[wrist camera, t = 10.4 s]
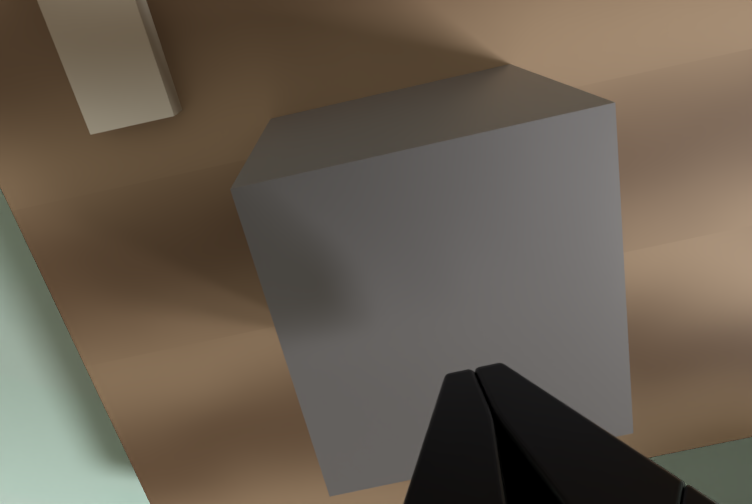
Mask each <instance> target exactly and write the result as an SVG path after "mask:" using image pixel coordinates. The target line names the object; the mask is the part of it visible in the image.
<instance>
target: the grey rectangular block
mask: <svg viewBox="0 0 752 504" xmlns="http://www.w3.org/2000/svg"><path fill="white" fill-rule="evenodd" d="M230 190H231V193H232V196H233V200H234V203H235V206H236V209H237V212H238V215H239V218H240V221H241V224H242V227H243V230H244V234H245V237H246V240H247V243H248V246H249V249H250V252H251V255H252V258H253V261H254V264H255V268H256V271H257V274H258V277H259V280H260V283H261V286H262V289H263V292H264V295H265V298H266V301H267V305H268V308H269V311H270V314H271V317H272V320H273V323H274V326H275V329H276V332H277V335H278V339H279V342H280V345H281V348H282V351H283V354H284V357H285V360H286V363H287V366H288V369H289V373H290V376H291V379H292V382H293V385H294V388H295V391H296V394H297V397H298V400H299V403H300V407H301V410H302V413H303V416H304V419H305V422H306V425H307V428H308V431H309V434H310V437H311V441H312V444H313V447H314V450H315V453H316V456H317V459H318V462H319V465H320V468H321V471H322V475H323V478H324V481H325V484H326V487H327V490H328V493H329V496H330V497H331V496H335V495H340V494H345V493H350V492H355V491H359V490H364V489H369V488H374V487H378V486H383V485H388V484H393V483H398V482H402V481H407V480H411V478H412V475H413V472H414V469H415V466H416V463H417V459H418V456H419V453H420V450H421V447H422V444H423V441H424V438H425V435H426V432H427V429H428V426H429V423H430V419H431V416H432V413H433V410H434V407H435V404H436V401H437V398H438V395H439V392H440V389H441V386H442V383H443V379H444V377H445V375H446V374H448V373H452V372H457V371H462V370H466V369H471V370H473V371H474V372H475V369H476V368H477V367H481V366H486V365H490V364H495V363H503V364H505V365H507V366H508V367H510V368H511V369H513V370H514V371H516V372H517V373H519V374H520V375H522V376H524V377H525V378H527V379H528V380H530V381H531V382H533V383H534V384H536V385H537V386H539V387H540V388H542V389H543V390H545V391H546V392H548V393H549V394H551V395H553V396H554V397H556V398H557V399H559V400H560V401H562V402H563V403H565V404H566V405H568V406H569V407H571V408H572V409H574V410H575V411H577V412H578V413H580V414H582V415H583V416H585V417H586V418H588V419H589V420H591V421H592V422H594V423H595V424H597V425H598V426H600V427H601V428H603V429H604V430H606V431H607V432H609V433H611V434H612V435H614V436H615V437H618V436H622V435H627V434H632V433H633V417H632V398H631V380H630V362H629V344H628V325H627V307H626V289H625V270H624V252H623V234H622V216H621V197H620V179H619V161H618V142H617V124H616V106H615V102H613V101H610V100H607V99H604V98H602V97H599V96H596V95H593V94H591V93H588V92H585V91H583V90H580V89H577V88H574V87H572V86H569V85H566V84H563V83H561V82H558V81H555V80H553V79H550V78H547V77H544V76H542V75H539V74H536V73H533V72H531V71H528V70H525V69H523V68H520V67H517V66H514V65H512V64H508V65H504V66H499V67H495V68H491V69H486V70H482V71H478V72H473V73H469V74H464V75H460V76H456V77H451V78H447V79H442V80H438V81H434V82H429V83H425V84H421V85H416V86H412V87H407V88H403V89H399V90H394V91H390V92H386V93H381V94H377V95H372V96H368V97H364V98H359V99H355V100H350V101H346V102H342V103H337V104H333V105H329V106H324V107H320V108H315V109H311V110H307V111H302V112H298V113H293V114H289V115H285V116H280V117H276V118H272V119H270V121H269V122H268V124H267V126H266V128H265V129H264V131H263V133H262V135H261V136H260V138H259V140H258V142H257V143H256V145H255V147H254V149H253V150H252V152H251V154H250V155H249V157H248V159H247V161H246V162H245V164H244V166H243V168H242V169H241V171H240V173H239V175H238V176H237V178H236V180H235V182H234V183H233V185H232V187H231V189H230Z"/></svg>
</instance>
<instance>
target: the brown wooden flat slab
mask: <svg viewBox="0 0 752 504" xmlns="http://www.w3.org/2000/svg"><path fill="white" fill-rule="evenodd" d="M508 64H512V65H514V66H517V67H520V68H523V69H525V70H528V71H531V72H533V73H536V74H539V75H542V76H544V77H547V78H550V79H553V80H555V81H558V82H561V83H563V84H566V85H569V86H572V87H574V88H577V89H580V90H583V91H585V92H588V93H591V94H593V95H596V96H599V97H602V98H604V99H607V100H610V101H613V102H615V106H616V124H617V142H618V161H619V179H620V197H621V216H622V234H623V252H624V270H625V289H626V307H627V325H628V344H629V362H630V380H631V398H632V417H633V433H632V434H627V435H622V436H618V437H617V438H618V439H620V440H621V441H623V442H624V443H626V444H627V445H629V446H630V447H632V448H633V449H635V450H636V451H638V452H640V453H641V454H643V455H644V456H646V457H647V458H650V457H655V456H660V455H665V454H670V453H675V452H679V451H684V450H689V449H694V448H699V447H704V446H709V445H714V444H719V443H724V442H729V441H734V440H739V439H744V438H749V437H752V0H0V188H1V190H2V192H3V194H4V196H5V198H6V201H7V203H8V205H9V207H10V209H11V211H12V213H13V215H14V217H15V220H16V222H17V224H18V226H19V228H20V230H21V232H22V234H23V236H24V239H25V241H26V243H27V245H28V247H29V249H30V251H31V253H32V255H33V258H34V260H35V262H36V264H37V266H38V268H39V270H40V272H41V274H42V276H43V279H44V281H45V283H46V285H47V287H48V289H49V291H50V293H51V295H52V298H53V300H54V302H55V304H56V306H57V308H58V310H59V312H60V314H61V317H62V319H63V321H64V323H65V325H66V327H67V329H68V331H69V333H70V336H71V338H72V340H73V342H74V344H75V346H76V348H77V350H78V352H79V355H80V357H81V359H82V361H83V363H84V365H85V367H86V369H87V371H88V374H89V376H90V378H91V380H92V382H93V384H94V386H95V388H96V390H97V393H98V395H99V397H100V399H101V401H102V403H103V405H104V407H105V409H106V412H107V414H108V416H109V418H110V420H111V422H112V424H113V426H114V428H115V431H116V433H117V435H118V437H119V439H120V441H121V443H122V445H123V447H124V449H125V452H126V454H127V456H128V458H129V460H130V462H131V464H132V466H133V468H134V471H135V473H136V475H137V477H138V479H139V481H140V483H141V485H142V487H143V490H144V492H145V494H146V496H147V498H148V500H149V502H150V504H403V502H404V499H405V496H406V493H407V490H408V487H409V484H410V481H411V480H407V481H402V482H398V483H393V484H388V485H383V486H378V487H374V488H369V489H364V490H359V491H355V492H350V493H345V494H340V495H335V496H331V497H330V496H329V493H328V490H327V487H326V484H325V481H324V478H323V475H322V471H321V468H320V465H319V462H318V459H317V456H316V453H315V450H314V447H313V444H312V441H311V437H310V434H309V431H308V428H307V425H306V422H305V419H304V416H303V413H302V410H301V407H300V403H299V400H298V397H297V394H296V391H295V388H294V385H293V382H292V379H291V376H290V373H289V369H288V366H287V363H286V360H285V357H284V354H283V351H282V348H281V345H280V342H279V339H278V335H277V332H276V329H275V326H274V323H273V320H272V317H271V314H270V311H269V308H268V305H267V301H266V298H265V295H264V292H263V289H262V286H261V283H260V280H259V277H258V274H257V271H256V268H255V264H254V261H253V258H252V255H251V252H250V249H249V246H248V243H247V240H246V237H245V234H244V230H243V227H242V224H241V221H240V218H239V215H238V212H237V209H236V206H235V203H234V200H233V196H232V193H231V190H230V189H231V187H232V185H233V183H234V182H235V180H236V178H237V176H238V175H239V173H240V171H241V169H242V168H243V166H244V164H245V162H246V161H247V159H248V157H249V155H250V154H251V152H252V150H253V149H254V147H255V145H256V143H257V142H258V140H259V138H260V136H261V135H262V133H263V131H264V129H265V128H266V126H267V124H268V122H269V121H270V119H272V118H276V117H280V116H285V115H289V114H293V113H298V112H302V111H307V110H311V109H315V108H320V107H324V106H329V105H333V104H337V103H342V102H346V101H350V100H355V99H359V98H364V97H368V96H372V95H377V94H381V93H386V92H390V91H394V90H399V89H403V88H407V87H412V86H416V85H421V84H425V83H429V82H434V81H438V80H442V79H447V78H451V77H456V76H460V75H464V74H469V73H473V72H478V71H482V70H486V69H491V68H495V67H499V66H504V65H508Z"/></svg>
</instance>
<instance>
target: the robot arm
mask: <svg viewBox="0 0 752 504" xmlns="http://www.w3.org/2000/svg"><path fill="white" fill-rule="evenodd" d="M403 504H718V503H716V502H715V501H713V500H712V499H710V498H709V497H707V496H706V495H704V494H703V493H701V492H699V491H698V490H696V489H695V488H693V487H692V486H690V485H687V486H685V483H684V482H683V481H682V480H681V479H679V478H678V477H676V476H675V475H673V474H672V473H670V472H669V471H667V470H665V469H664V468H662V467H661V466H659V465H658V464H656V463H655V462H653V461H652V460H650V459H649V458H647V457H646V456H644V455H643V454H641V453H640V452H638V451H636V450H635V449H633V448H632V447H630V446H629V445H627V444H626V443H624V442H623V441H621V440H620V439H618V438H617V437H615V436H614V435H612V434H611V433H609V432H607V431H606V430H604V429H603V428H601V427H600V426H598V425H597V424H595V423H594V422H592V421H591V420H589V419H588V418H586V417H585V416H583V415H582V414H580V413H578V412H577V411H575V410H574V409H572V408H571V407H569V406H568V405H566V404H565V403H563V402H562V401H560V400H559V399H557V398H556V397H554V396H553V395H551V394H549V393H548V392H546V391H545V390H543V389H542V388H540V387H539V386H537V385H536V384H534V383H533V382H531V381H530V380H528V379H527V378H525V377H524V376H522V375H520V374H519V373H517V372H516V371H514V370H513V369H511V368H510V367H508V366H507V365H505V364H503V363H495V364H490V365H486V366H481V367H477V368H476V369H475V372H474V371H473V370H471V369H466V370H462V371H457V372H452V373H448V374H446V375H445V377H444V379H443V383H442V386H441V389H440V392H439V395H438V398H437V401H436V404H435V407H434V410H433V413H432V416H431V419H430V423H429V426H428V429H427V432H426V435H425V438H424V441H423V444H422V447H421V450H420V453H419V456H418V459H417V463H416V466H415V469H414V472H413V475H412V478H411V481H410V484H409V487H408V490H407V493H406V496H405V499H404V502H403Z"/></svg>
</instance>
